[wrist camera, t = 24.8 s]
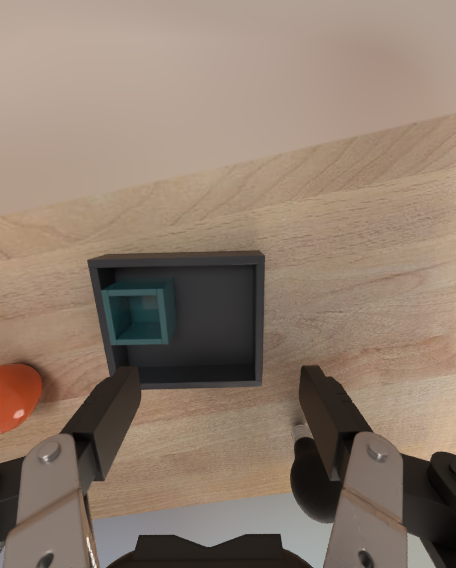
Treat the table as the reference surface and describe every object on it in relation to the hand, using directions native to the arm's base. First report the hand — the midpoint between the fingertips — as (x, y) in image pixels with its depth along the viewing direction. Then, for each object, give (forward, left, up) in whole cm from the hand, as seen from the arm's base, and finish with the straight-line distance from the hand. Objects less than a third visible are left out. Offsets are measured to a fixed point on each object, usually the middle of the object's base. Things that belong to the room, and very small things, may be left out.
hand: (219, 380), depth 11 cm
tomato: (+11, -25, -15) cm, 32 cm away
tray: (+3, -4, -15) cm, 16 cm away
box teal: (+1, -8, -15) cm, 17 cm away
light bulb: (+20, +10, -15) cm, 27 cm away
